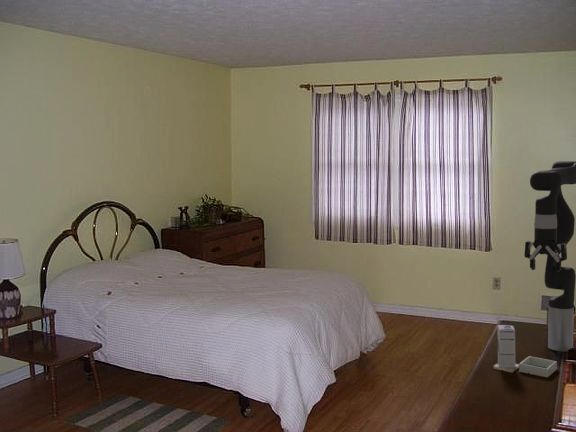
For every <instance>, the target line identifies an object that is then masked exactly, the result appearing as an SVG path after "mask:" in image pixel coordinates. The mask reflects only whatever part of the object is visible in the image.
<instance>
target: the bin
mask: <svg viewBox="0 0 576 432" xmlns="http://www.w3.org/2000/svg"><path fill="white" fill-rule="evenodd" d="M518 364H519V368H518V372H519V373H525V374H528V373H529V375H534V376H538V377H543V378H549V377H550V376H551V375H552V374H554V372H556V371H557V370H558V361H556V360H551V359H546V358H541V357H536V356H531V355H529V356H527V357H526V358H524V359H523V360H522V361H521V362H519V363H518Z"/></svg>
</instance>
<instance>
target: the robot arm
mask: <svg viewBox="0 0 576 432" xmlns="http://www.w3.org/2000/svg"><path fill="white" fill-rule="evenodd" d="M529 184H530V187H531V189H533V190H534V191H538V192H540V191H542V192H543V191H544V192H549V193H548V195H547V196H543V197H542V196H541V197H537V198H536V200H535V213H534V215H535V216H534V223H533V224H534V226H533V227H534V230H533V231H534V234H533V235H534V241H531V240H528V241H525V243H524V244H525V245H524V246H525V247H524V253H523V254H524V258H527V259H529V269H531V271H535V270H536V257H537V256H538V255H546V256H547V257H546V263H545V269H544V270H545V271H544V285H545V287H546V288H547V289H550V290H561V291H563V293H562V294H561V295H557V296H552V297H550V298H549V299H548V318H547V319H548V322H547V323H548V324H547V327H548V329H547V330H548V332H547V335H548V336H547V348H548V349H549V350H552V351H556V352H567V351H566V350H567V349H570V348H573V349H574V326H575V325H574V318H575V317H574V315H575V314H574V313H575V311H574V309H575V306H574V305H575V289H576V271H575V269H574V268H573V267H568V266H562V262H563V261H564V262H565V261H566V260H567V259H568V253H567V252H568V251H567V249H568V248H567V245H569V242H570V241H571V239H572V238H573V236H574V233H575V225H576V224H575V220H576V219H575V215H574V212H573V211H572V208H570V206H569V204H568V203H567V201H566V200H565V198H564V195H563V192H562V186H565V185H576V161H574V160H571V161H569V160H566V161H565V160H559V161H555V162H553V163H552V165H551V168H550V169H548V170H536V171H534V172H533V173H532V175H531V176H530V179H529ZM532 247H534V248H535V249H534V251H533V252H532V253H531V248H532Z"/></svg>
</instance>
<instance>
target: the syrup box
mask: <svg viewBox="0 0 576 432" xmlns="http://www.w3.org/2000/svg"><path fill="white" fill-rule="evenodd" d="M496 328H497V329H496V330H497V363H498V364H499V367H504V368H515V364H516V329H515V327H514V325H510V324H498V325H497V326H496Z"/></svg>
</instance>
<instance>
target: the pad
mask: <svg viewBox="0 0 576 432" xmlns="http://www.w3.org/2000/svg"><path fill="white" fill-rule="evenodd" d="M493 369H494V370H498V371H502V370H503V372H506V373H507V372H508V373H514V372H515V371H517V370H519V363H515V368H504V367H499V364H498V362H497V363H495V364H494V365H493Z"/></svg>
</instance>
